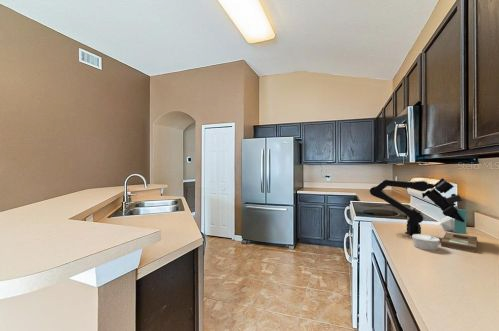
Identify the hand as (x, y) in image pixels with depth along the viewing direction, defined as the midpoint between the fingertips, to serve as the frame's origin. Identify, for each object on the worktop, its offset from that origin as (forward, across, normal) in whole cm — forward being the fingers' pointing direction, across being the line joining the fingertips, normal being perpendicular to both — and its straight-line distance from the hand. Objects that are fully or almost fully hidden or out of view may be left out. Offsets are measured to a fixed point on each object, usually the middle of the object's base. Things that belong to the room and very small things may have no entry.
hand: (463, 220), depth 128 cm
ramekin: (-3, -23, +19) cm, 30 cm away
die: (+4, +23, +13) cm, 27 cm away
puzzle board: (+7, -5, +9) cm, 13 cm away
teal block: (+4, 0, +6) cm, 7 cm away
